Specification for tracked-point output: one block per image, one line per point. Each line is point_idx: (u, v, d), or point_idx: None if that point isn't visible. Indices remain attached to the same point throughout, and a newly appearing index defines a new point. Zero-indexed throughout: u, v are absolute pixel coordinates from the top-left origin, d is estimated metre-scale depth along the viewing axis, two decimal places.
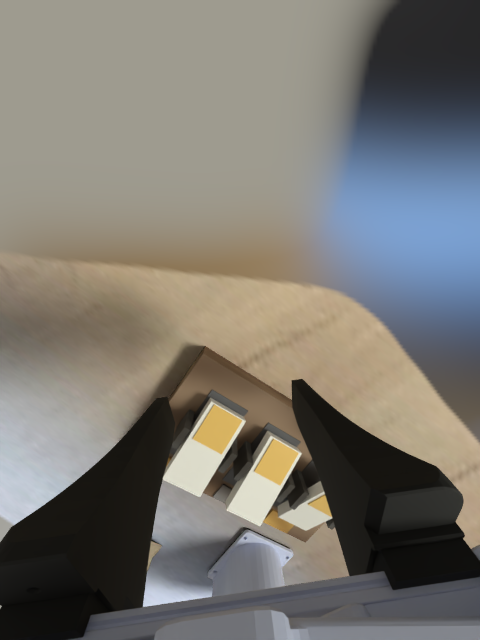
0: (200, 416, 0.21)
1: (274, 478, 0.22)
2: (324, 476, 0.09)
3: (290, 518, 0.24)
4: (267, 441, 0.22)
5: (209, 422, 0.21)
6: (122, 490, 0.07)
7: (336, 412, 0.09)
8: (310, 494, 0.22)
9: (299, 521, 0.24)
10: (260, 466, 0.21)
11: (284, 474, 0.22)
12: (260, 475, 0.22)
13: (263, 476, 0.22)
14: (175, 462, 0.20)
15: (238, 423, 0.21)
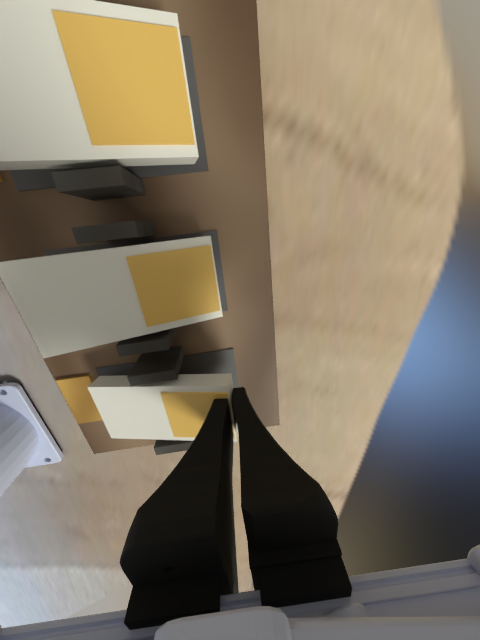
0: None
1: (149, 308, 0.10)
2: None
3: (106, 402, 0.13)
4: (196, 238, 0.10)
5: (129, 45, 0.07)
6: (222, 476, 0.07)
7: (258, 423, 0.09)
8: (178, 381, 0.12)
9: (116, 416, 0.13)
10: (145, 261, 0.09)
11: (170, 317, 0.11)
12: (129, 276, 0.09)
13: (134, 283, 0.10)
14: None
15: (182, 142, 0.09)
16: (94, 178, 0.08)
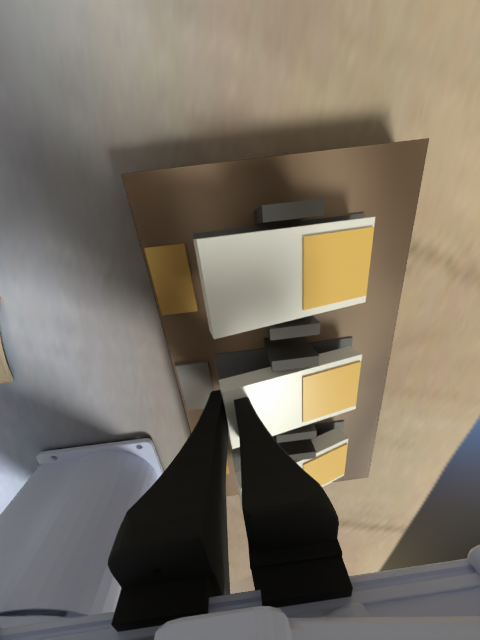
0: (336, 221, 0.10)
1: (307, 409, 0.13)
2: None
3: None
4: (351, 357, 0.12)
5: (341, 243, 0.10)
6: (213, 477, 0.07)
7: (258, 423, 0.09)
8: None
9: None
10: (315, 378, 0.12)
11: (320, 414, 0.13)
12: (300, 389, 0.12)
13: (302, 393, 0.12)
14: (245, 240, 0.08)
15: (358, 294, 0.11)
16: (299, 331, 0.10)
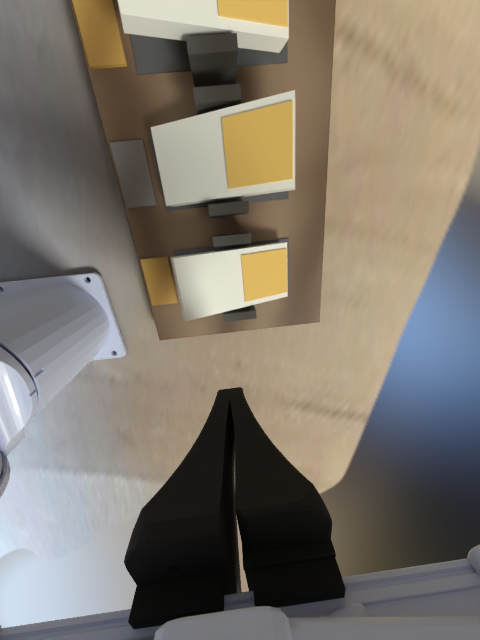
0: None
1: (232, 171, 0.12)
2: None
3: (189, 274, 0.13)
4: (280, 95, 0.11)
5: None
6: (225, 476, 0.07)
7: (254, 423, 0.09)
8: (250, 246, 0.15)
9: (196, 290, 0.14)
10: (235, 121, 0.11)
11: (247, 181, 0.12)
12: (222, 138, 0.12)
13: (225, 145, 0.12)
14: None
15: (279, 23, 0.11)
16: (216, 43, 0.10)
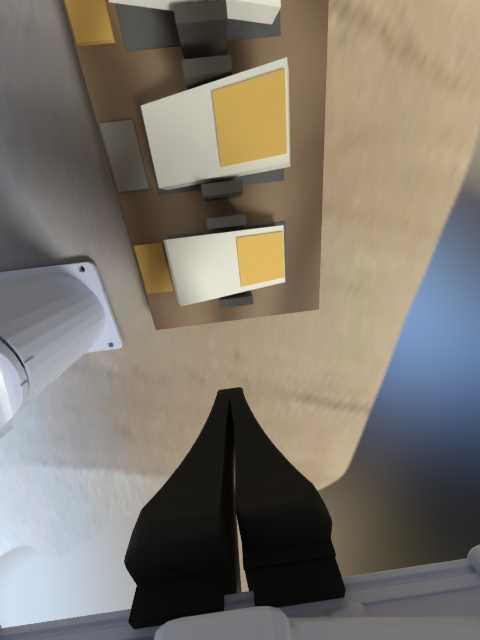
0: None
1: (225, 148, 0.12)
2: None
3: (183, 257, 0.13)
4: (272, 63, 0.10)
5: None
6: (225, 476, 0.07)
7: (254, 423, 0.09)
8: None
9: (190, 274, 0.14)
10: (226, 94, 0.11)
11: (240, 158, 0.12)
12: (213, 113, 0.12)
13: (216, 121, 0.12)
14: None
15: None
16: (205, 11, 0.10)
